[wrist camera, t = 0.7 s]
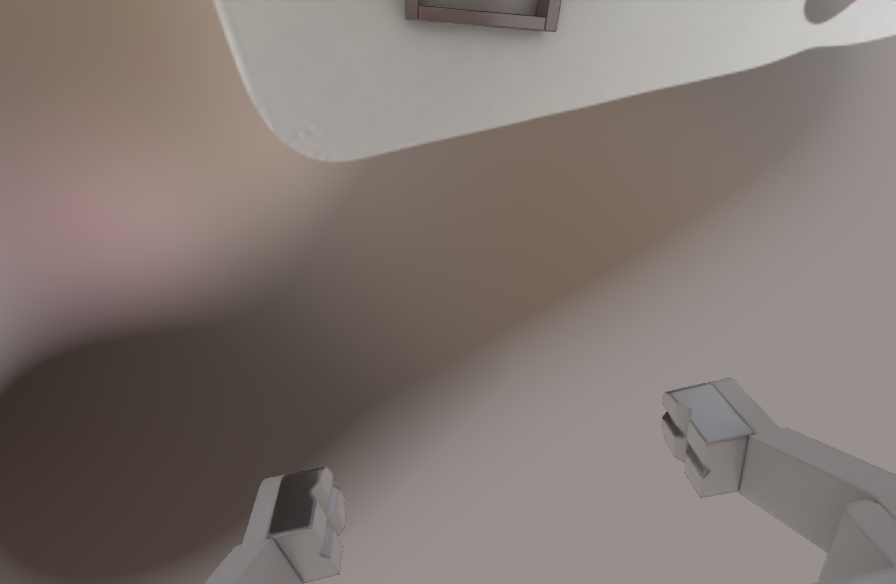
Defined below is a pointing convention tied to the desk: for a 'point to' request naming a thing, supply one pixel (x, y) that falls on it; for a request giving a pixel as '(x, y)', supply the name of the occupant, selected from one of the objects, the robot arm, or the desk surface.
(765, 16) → the desk surface
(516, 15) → the slot rack
